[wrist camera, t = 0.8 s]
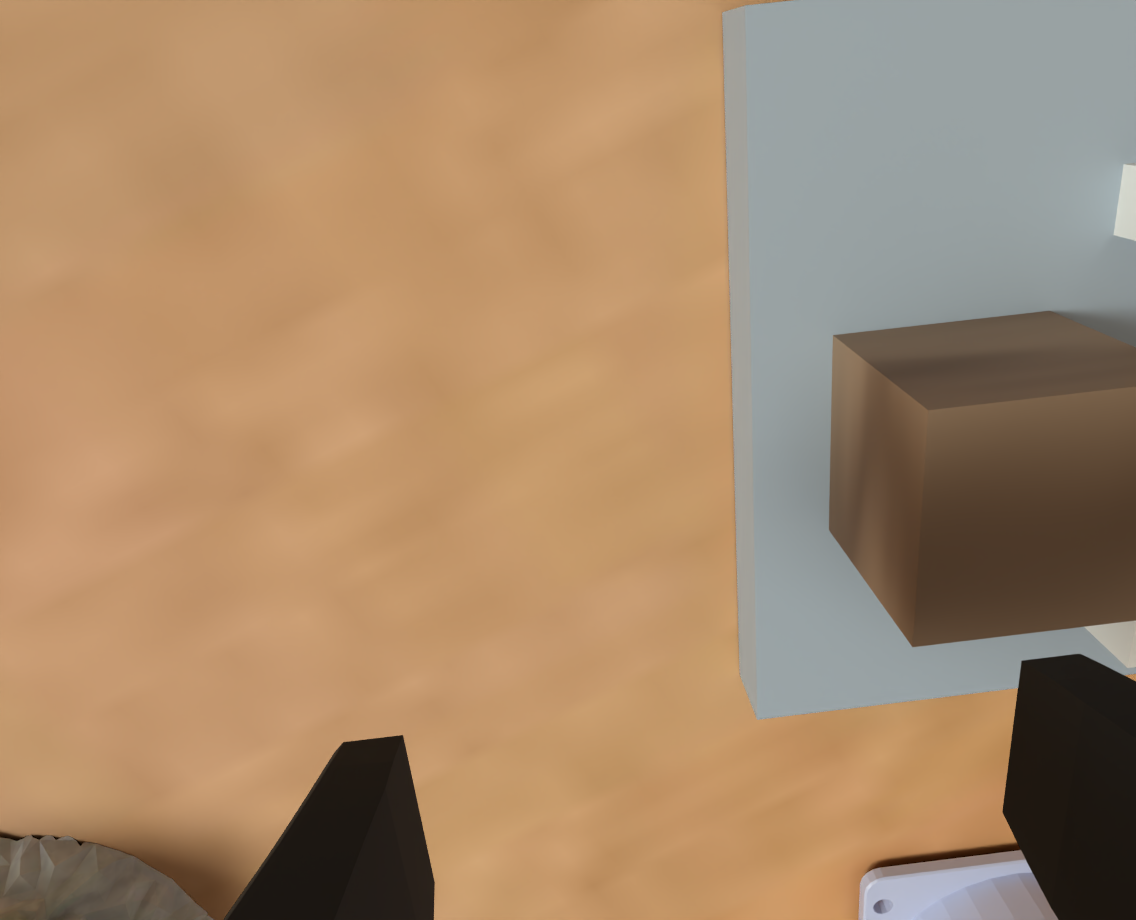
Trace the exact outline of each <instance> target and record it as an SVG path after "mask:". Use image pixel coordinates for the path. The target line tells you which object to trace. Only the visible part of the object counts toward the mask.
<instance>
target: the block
mask: <svg viewBox="0 0 1136 920" xmlns="http://www.w3.org/2000/svg"><path fill="white" fill-rule="evenodd" d="M829 531H830V532H831V534H832V535H833V537H834V538H835V539H836V541H837V542H838V544H839V545H840V546H841V548H842V549H843V551H844V552H845V553H846V555H847V556H848V558H849V559H850V560H851V562H852V563H853V565H854V566H855V567H856V569H857V570H858V572H859V573H860V574H861V576H862V577H863V579H864V580H865V581H866V583H867V584H868V586H869V587H870V588H871V590H872V591H873V593H874V594H875V595H876V597H877V598H878V600H879V601H880V602H881V604H882V605H883V607H884V608H885V609H886V611H887V612H888V614H889V615H890V616H891V618H892V619H893V621H894V622H895V623H896V625H897V626H898V628H899V629H900V630H901V632H902V633H903V635H904V636H905V637H906V639H907V640H908V642H909V643H910V644H911V646H912V647H920V646H928V645H936V644H945V643H953V642H961V641H970V640H978V639H986V638H995V637H1003V636H1011V635H1020V634H1028V633H1036V632H1045V631H1053V630H1061V629H1070V628H1078V627H1086V626H1094V625H1103V624H1111V623H1119V622H1128V621H1136V347H1134V346H1131V345H1129V344H1127V343H1124V342H1122V341H1120V340H1117V339H1115V338H1113V337H1110V336H1108V335H1106V334H1103V333H1101V332H1098V331H1096V330H1094V329H1091V328H1089V327H1087V326H1084V325H1082V324H1080V323H1077V322H1075V321H1073V320H1070V319H1068V318H1066V317H1063V316H1061V315H1059V314H1056V313H1054V312H1052V311H1042V312H1033V313H1025V314H1016V315H1007V316H998V317H989V318H980V319H972V320H963V321H954V322H945V323H936V324H927V325H918V326H910V327H901V328H892V329H883V330H874V331H865V332H857V333H848V334H839V335H833V348H832V397H831V446H830V495H829Z"/></svg>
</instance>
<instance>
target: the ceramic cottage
mask: <svg viewBox="0 0 1136 920" xmlns="http://www.w3.org/2000/svg"><path fill="white" fill-rule="evenodd" d="M207 914H208V912H206V911H205V910H204V909H203V908H201V907H200V906H199V905H198V904H196V903H195V902H194V901H193V899H191V898H190V897H189V896H188V895H187V894H186V893H185V892H184V891H183V890H182V889H181V888H180V887H179V886H178V885H177V884H176V883H175V882H174V880H173V879H171V878H169V877H167V876H166V875H164V874H162V873H161V872H159V871H157V870H155V869H154V868H152V867H150V866H148V865H147V864H145V863H144V862H142V861H141V860H139V859H138V858H136V857H135V856H132V855H128V854H126V853H123V852H121V851H118V850H115V849H111V848H108V847H104V846H102V845H99V844H97V843H95V844H94V843H89V842H83V844H82V845H81V846H80V845H79V844H78V843H77V841H76V840H75V839H73V838H72V837H69V836H65V837H61V838H59V839H57V840H55V838H54V837H53V836H50V835H46V836H45V837H43V838H41V839H40V840H38V839H36V838H33V837H32V835H28V836H26V837H25V838H23V839H21V840H18V841H15V840H12V839H7V838H1V837H0V920H214V919H213V918H211V917H210V916H208V915H207Z"/></svg>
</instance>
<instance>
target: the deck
mask: <svg viewBox="0 0 1136 920" xmlns="http://www.w3.org/2000/svg"><path fill="white" fill-rule="evenodd" d="M722 16H723V54H724V92H725V131H726V169H727V207H728V246H729V284H730V322H731V360H732V399H733V437H734V475H735V514H736V552H737V590H738V628H739V667H740V677H741V679H742V682H743V685H744V687H745V690H746V692H747V695H748V697H749V700H750V702H751V705H752V708H753V710H754V713H755V715H756V718H757V720H759V719H767V718H775V717H783V716H792V715H800V714H808V713H816V712H824V711H833V710H841V709H849V708H857V707H866V706H874V705H882V704H890V703H899V702H907V701H915V700H923V699H931V698H940V697H948V696H956V695H964V694H973V693H981V692H989V691H997V690H1006V689H1014V688H1018V685H1019V677H1020V669H1021V661H1022V660H1030V659H1039V658H1047V657H1055V656H1064V655H1072V654H1082V655H1084V656H1086V657H1088V658H1090V659H1092V660H1095V661H1097V662H1099V663H1101V664H1103V665H1105V666H1107V667H1109V668H1111V669H1113V670H1115V671H1117V672H1119V673H1120V674H1122V675H1129V674H1136V621H1128V622H1119V623H1111V624H1103V625H1094V626H1086V627H1078V628H1070V629H1061V630H1053V631H1045V632H1036V633H1028V634H1020V635H1011V636H1003V637H995V638H986V639H978V640H970V641H961V642H953V643H945V644H936V645H928V646H920V647H912V646H911V644H910V643H909V642H908V640H907V639H906V637H905V636H904V635H903V633H902V632H901V630H900V629H899V628H898V626H897V625H896V623H895V622H894V621H893V619H892V618H891V616H890V615H889V614H888V612H887V611H886V609H885V608H884V607H883V605H882V604H881V602H880V601H879V600H878V598H877V597H876V595H875V594H874V593H873V591H872V590H871V588H870V587H869V586H868V584H867V583H866V581H865V580H864V579H863V577H862V576H861V574H860V573H859V572H858V570H857V569H856V567H855V566H854V565H853V563H852V562H851V560H850V559H849V558H848V556H847V555H846V553H845V552H844V551H843V549H842V548H841V546H840V545H839V544H838V542H837V541H836V539H835V538H834V537H833V535H832V534H831V532H830V531H829V495H830V446H831V397H832V348H833V335H839V334H848V333H857V332H865V331H874V330H883V329H892V328H901V327H910V326H918V325H927V324H936V323H945V322H954V321H963V320H972V319H980V318H989V317H998V316H1007V315H1016V314H1025V313H1033V312H1042V311H1052V312H1054V313H1056V314H1059V315H1061V316H1063V317H1066V318H1068V319H1070V320H1073V321H1075V322H1077V323H1080V324H1082V325H1084V326H1087V327H1089V328H1091V329H1094V330H1096V331H1098V332H1101V333H1103V334H1106V335H1108V336H1110V337H1113V338H1115V339H1117V340H1120V341H1122V342H1124V343H1127V344H1129V345H1131V346H1134V347H1136V0H793V1H784V2H774V3H765V4H755V5H746V6H742V7H739V8H735V9H732V10H729V11H726V12H722Z"/></svg>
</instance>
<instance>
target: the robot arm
mask: <svg viewBox="0 0 1136 920" xmlns="http://www.w3.org/2000/svg"><path fill="white" fill-rule="evenodd" d="M1003 814H1004V816H1005V818H1006V820H1007V822H1008V824H1009V826H1010V828H1011V830H1012V832H1013V834H1014V837H1015V839H1016V841H1017V843H1018V845H1019V847H1020V849H1021V850H1016V851H1008V852H1000V853H992V854H984V855H976V856H968V857H960V858H952V859H944V860H936V861H928V862H920V863H912V864H904V865H896V866H888V867H880V868H876V869H872V870H871V871H869V872H867V873H866V874H865V875H864V877H863V878H862V880H861V883H860V898H859V920H1136V681H1134V680H1132V679H1130V678H1128V677H1126V676H1124V675H1122V674H1120V673H1119V672H1117V671H1115V670H1113V669H1111V668H1109V667H1107V666H1105V665H1103V664H1101V663H1099V662H1097V661H1095V660H1092V659H1090V658H1088V657H1086V656H1084V655H1082V654H1072V655H1064V656H1055V657H1047V658H1039V659H1030V660H1022V661H1021V669H1020V677H1019V685H1018V693H1017V701H1016V709H1015V717H1014V725H1013V733H1012V741H1011V749H1010V757H1009V765H1008V773H1007V780H1006V788H1005V796H1004V804H1003ZM434 884H435V882H434V878H433V873H432V868H431V864H430V859H429V854H428V850H427V845H426V840H425V836H424V831H423V826H422V822H421V817H420V812H419V808H418V803H417V799H416V794H415V789H414V785H413V780H412V775H411V771H410V766H409V761H408V757H407V752H406V747H405V743H404V738H403V735H400V736H392V737H384V738H376V739H367V740H359V741H351V742H343V743H342V745H341V746H340V747H339V748H338V749H337V750H336V751H335V753H334V754H333V756H332V757H331V759H330V760H329V762H328V764H327V765H326V767H325V768H324V770H323V771H322V773H321V775H320V776H319V778H318V779H317V781H316V783H315V784H314V786H313V787H312V789H311V790H310V792H309V794H308V795H307V797H306V798H305V800H304V801H303V803H302V805H301V806H300V808H299V809H298V811H297V812H296V814H295V815H294V817H293V819H292V820H291V822H290V823H289V825H288V826H287V828H286V829H285V831H284V832H283V834H282V835H281V837H280V838H279V840H278V841H277V843H276V844H275V846H274V847H273V849H272V850H271V852H270V853H269V855H268V856H267V858H266V859H265V861H264V862H263V864H262V865H261V867H260V868H259V869H258V871H257V872H256V874H255V875H254V877H253V878H252V879H251V881H250V882H249V884H248V885H247V887H246V888H245V890H244V891H243V892H242V894H241V895H240V897H239V898H238V900H237V901H236V902H235V904H234V905H233V907H232V908H231V910H230V911H229V912H228V914H227V915H226V917H225V918H224V920H434Z"/></svg>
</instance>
